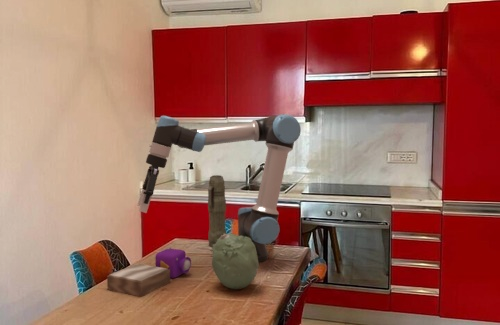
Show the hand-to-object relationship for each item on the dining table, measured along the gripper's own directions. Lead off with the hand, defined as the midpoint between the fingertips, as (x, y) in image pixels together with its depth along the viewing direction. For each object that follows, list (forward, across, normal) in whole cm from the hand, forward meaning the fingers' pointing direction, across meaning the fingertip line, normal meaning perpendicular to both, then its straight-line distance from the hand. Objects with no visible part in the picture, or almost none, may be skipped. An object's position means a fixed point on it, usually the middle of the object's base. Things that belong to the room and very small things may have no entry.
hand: (141, 209), depth 167 cm
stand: (+27, +6, +7) cm, 29 cm away
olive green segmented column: (+14, -40, +45) cm, 62 cm away
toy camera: (+23, -2, +20) cm, 31 cm away
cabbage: (+17, +20, +39) cm, 46 cm away
